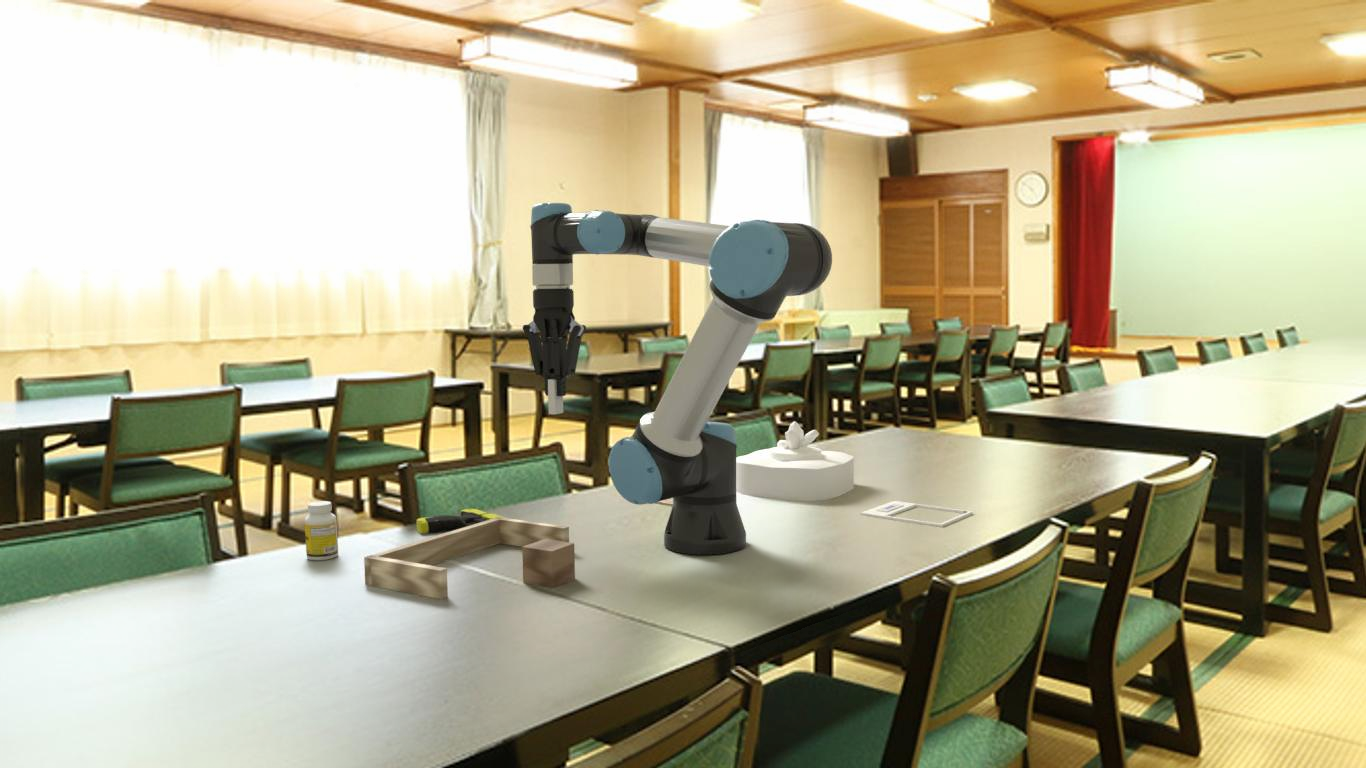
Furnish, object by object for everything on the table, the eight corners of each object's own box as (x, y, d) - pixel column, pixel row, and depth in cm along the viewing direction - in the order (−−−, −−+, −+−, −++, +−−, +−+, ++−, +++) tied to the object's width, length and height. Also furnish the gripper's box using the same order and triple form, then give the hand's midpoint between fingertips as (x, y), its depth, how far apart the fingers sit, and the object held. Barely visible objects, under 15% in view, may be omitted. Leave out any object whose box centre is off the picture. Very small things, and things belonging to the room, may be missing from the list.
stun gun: (455, 535, 193) (525, 522, 203) (408, 517, 208) (476, 506, 218) (455, 550, 194) (525, 537, 203) (409, 531, 208) (476, 520, 218)
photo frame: (894, 499, 229) (972, 510, 217) (894, 505, 229) (972, 515, 218) (860, 511, 217) (941, 523, 206) (860, 517, 218) (941, 529, 206)
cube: (575, 578, 173) (574, 543, 173) (552, 588, 168) (551, 551, 167) (545, 574, 176) (545, 538, 176) (523, 583, 171) (522, 546, 170)
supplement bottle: (310, 553, 190) (308, 500, 190) (341, 552, 191) (339, 499, 190) (302, 561, 185) (300, 506, 184) (334, 560, 186) (331, 506, 185)
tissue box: (864, 484, 251) (864, 417, 249) (823, 504, 229) (823, 431, 228) (769, 475, 263) (769, 412, 262) (722, 493, 242) (721, 424, 240)
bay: (569, 551, 191) (568, 526, 190) (440, 599, 162) (440, 570, 162) (498, 540, 199) (498, 517, 198) (365, 584, 171) (364, 557, 170)
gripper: (593, 287, 196) (596, 412, 198) (536, 287, 202) (539, 409, 204) (571, 287, 189) (573, 417, 191) (512, 288, 195) (515, 414, 198)
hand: (556, 413), depth 198 cm, fingers closed
